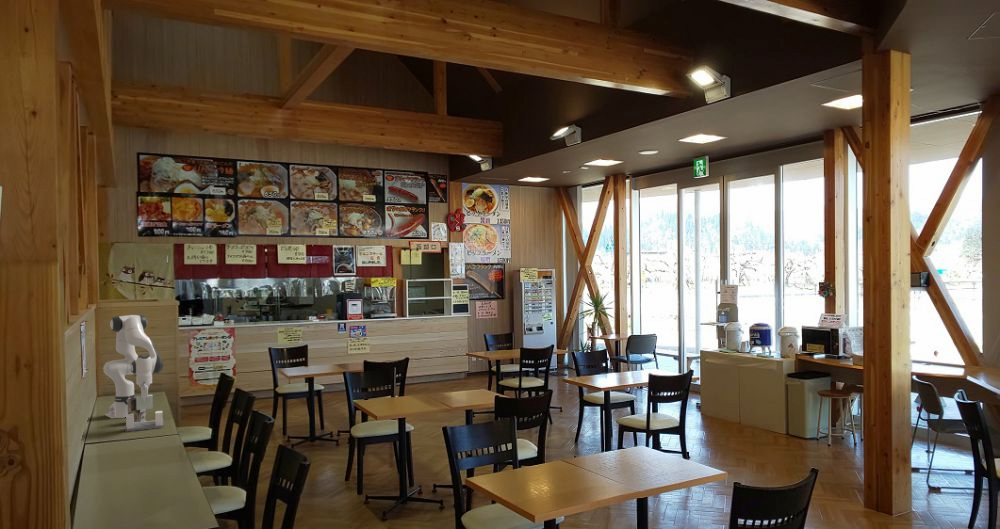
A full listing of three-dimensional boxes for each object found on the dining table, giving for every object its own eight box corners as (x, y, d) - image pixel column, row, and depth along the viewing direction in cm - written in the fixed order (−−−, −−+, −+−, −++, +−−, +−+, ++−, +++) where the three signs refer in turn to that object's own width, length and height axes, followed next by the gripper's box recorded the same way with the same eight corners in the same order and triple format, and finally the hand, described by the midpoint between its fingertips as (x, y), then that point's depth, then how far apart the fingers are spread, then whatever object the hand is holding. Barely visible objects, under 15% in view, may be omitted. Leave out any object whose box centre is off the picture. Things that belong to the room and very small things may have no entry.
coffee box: (146, 421, 441) (146, 397, 441) (140, 423, 435) (140, 399, 435) (133, 421, 442) (133, 397, 442) (127, 423, 436) (127, 398, 436)
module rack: (126, 429, 421) (125, 413, 421) (163, 424, 431) (163, 410, 431) (125, 432, 413) (125, 416, 413) (163, 427, 423) (163, 412, 423)
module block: (136, 408, 421) (136, 396, 421) (152, 407, 426) (152, 394, 426) (136, 410, 417) (136, 397, 417) (152, 408, 422) (152, 395, 422)
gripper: (150, 382, 414) (150, 405, 414) (149, 378, 432) (150, 399, 432) (138, 383, 411) (138, 406, 411) (138, 379, 429) (139, 400, 429)
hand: (144, 402), depth 422 cm, fingers closed on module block, 4 cm apart
